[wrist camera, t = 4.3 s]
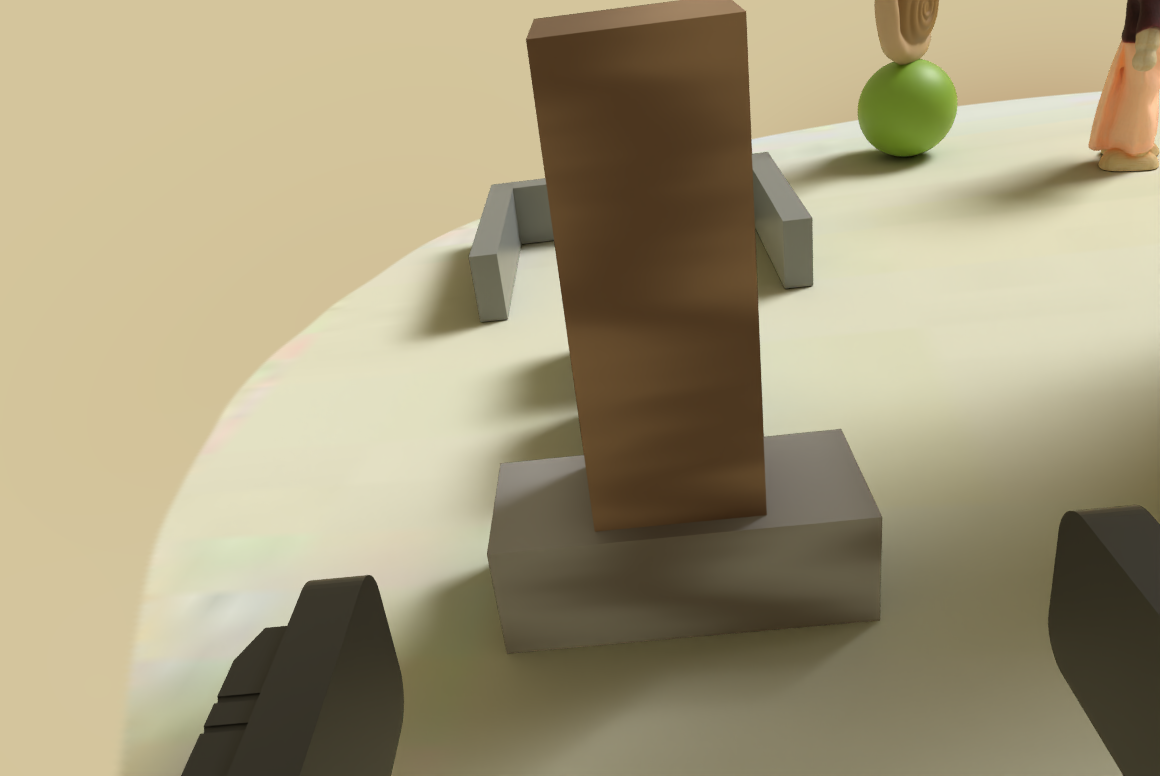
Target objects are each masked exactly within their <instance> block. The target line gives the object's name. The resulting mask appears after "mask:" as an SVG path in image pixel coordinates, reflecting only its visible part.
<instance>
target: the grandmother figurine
mask: <svg viewBox="0 0 1160 776" xmlns="http://www.w3.org/2000/svg"><path fill="white" fill-rule="evenodd" d="M1159 89H1160V0H1128V2H1127V8H1126V20H1125V26H1124V30H1123V33H1122V41H1121V43H1120V45H1119V48H1118V50H1117V53H1116V55H1115V57H1114V60H1113V62H1112V65H1111V67H1110V70H1109V73H1108V76H1107V79H1106V82H1105V85H1104V89H1103V91H1102V94H1101V97H1100V100H1099V103H1098V107H1097V111H1096V114H1095V118H1094V122H1093V126H1092V131H1091V136H1090V141H1089V148H1090V149H1092V150H1094V151H1095V150H1096V151H1099V150H1101V153H1102V154H1103V156H1102V157H1101V159H1100V161H1099V167H1100V168H1101V169H1103V170H1107V171H1141V170H1152V169H1156V168H1158V167H1159V161H1158V159H1157V157H1156V156H1157V155H1158V154H1159V149H1158V147H1157V145H1156V144H1155V143H1154V139H1155V136H1156V134H1157V126H1158V115H1159Z"/></svg>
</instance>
